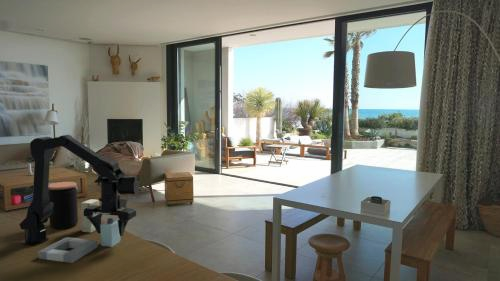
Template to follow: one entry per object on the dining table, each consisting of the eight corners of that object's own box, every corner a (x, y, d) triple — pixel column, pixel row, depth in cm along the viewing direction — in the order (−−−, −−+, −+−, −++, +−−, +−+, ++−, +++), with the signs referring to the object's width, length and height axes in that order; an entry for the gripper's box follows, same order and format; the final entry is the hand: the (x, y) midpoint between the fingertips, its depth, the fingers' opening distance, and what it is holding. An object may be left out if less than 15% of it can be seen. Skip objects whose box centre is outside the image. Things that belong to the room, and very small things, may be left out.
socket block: (38, 258, 118) (38, 251, 118) (66, 243, 130) (66, 237, 130) (71, 263, 115) (71, 255, 115) (97, 247, 128) (97, 240, 127)
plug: (101, 245, 129) (100, 220, 128) (110, 239, 135) (109, 216, 134) (111, 246, 128) (111, 221, 127) (120, 241, 134) (120, 217, 133)
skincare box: (91, 233, 141) (90, 203, 140) (81, 232, 142) (80, 202, 141) (100, 227, 147) (100, 199, 146) (91, 226, 148) (90, 198, 147)
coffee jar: (56, 221, 153) (54, 181, 151) (81, 221, 155) (80, 181, 153) (45, 230, 143) (42, 187, 141) (72, 230, 144) (70, 187, 142)
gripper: (143, 190, 135) (144, 229, 137) (101, 187, 139) (102, 225, 141) (127, 198, 124) (128, 240, 126) (81, 194, 128) (83, 235, 130)
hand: (110, 234), depth 131 cm, fingers open, 9 cm apart
